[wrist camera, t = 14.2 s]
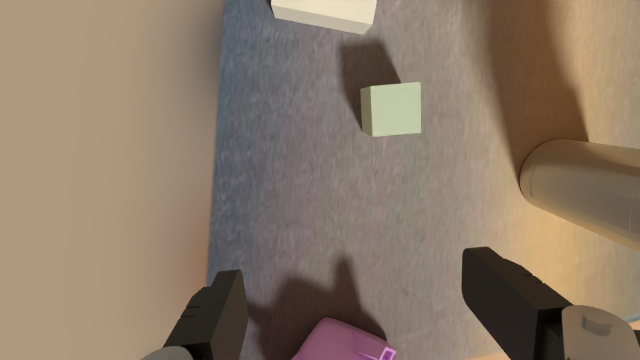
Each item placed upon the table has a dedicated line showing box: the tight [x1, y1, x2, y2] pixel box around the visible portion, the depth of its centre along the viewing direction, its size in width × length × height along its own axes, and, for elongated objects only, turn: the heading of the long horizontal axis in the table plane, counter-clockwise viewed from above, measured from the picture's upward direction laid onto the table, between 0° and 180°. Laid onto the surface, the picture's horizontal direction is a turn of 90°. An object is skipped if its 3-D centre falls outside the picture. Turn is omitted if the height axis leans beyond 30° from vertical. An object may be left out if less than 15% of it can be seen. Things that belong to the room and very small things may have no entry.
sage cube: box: [360, 82, 421, 137], centre depth 35 cm, size 5×5×6 cm
